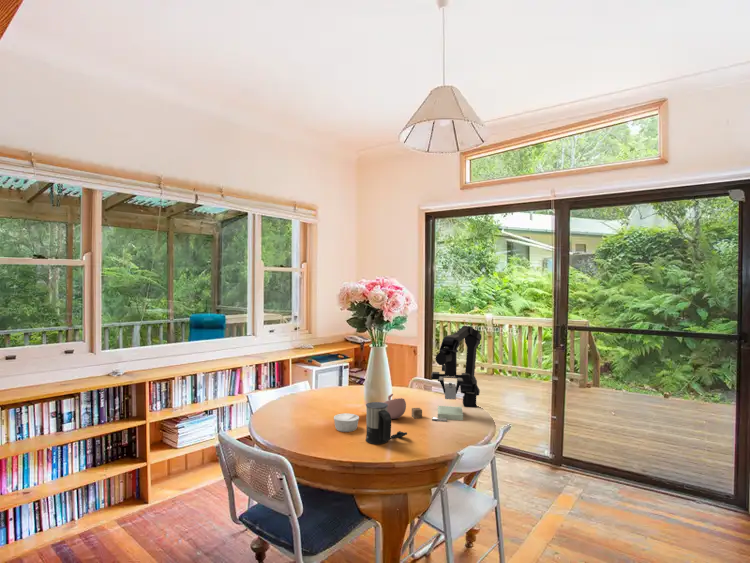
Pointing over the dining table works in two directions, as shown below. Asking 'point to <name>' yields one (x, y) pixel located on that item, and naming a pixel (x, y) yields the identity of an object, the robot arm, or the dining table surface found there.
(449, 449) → the dining table surface
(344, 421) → the ramekin
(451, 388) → the block
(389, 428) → the milk frother
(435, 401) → the dining table surface
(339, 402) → the dining table surface
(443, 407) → the pale green flat slab
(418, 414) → the walnut block
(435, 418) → the steel pin
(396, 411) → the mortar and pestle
